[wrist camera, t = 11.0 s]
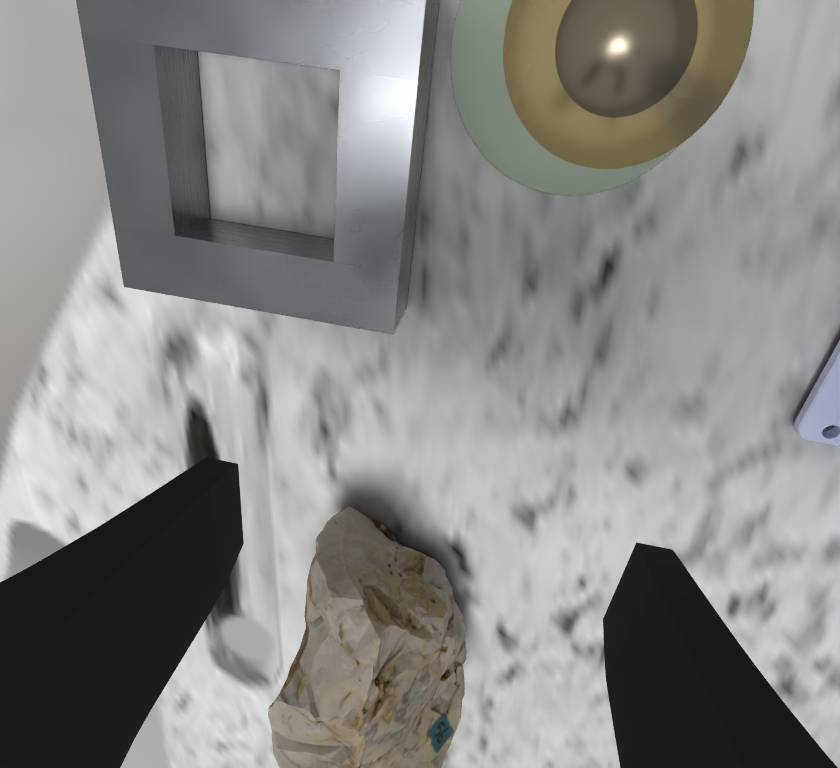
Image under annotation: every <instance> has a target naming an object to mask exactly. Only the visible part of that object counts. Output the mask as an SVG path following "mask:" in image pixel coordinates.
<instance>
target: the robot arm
mask: <svg viewBox="0 0 840 768" xmlns="http://www.w3.org/2000/svg"><path fill="white" fill-rule="evenodd" d="M830 425H834V427H833V428H832V429H831V430H829V431H827V432H822V431H823V430H824V429H825V428H826V427H828V426H830ZM794 428H795V431H796V432H797V433H798V435H799V436H800V437H801V438H802V439H805V440H808V441H813V442H819V443H824V444H830V445H835V446H840V340H839V342H838V344H837V346H836V348H835V349H834V351H833V353H832V355H831V357H830V358H829V360H828V362H827V364H826V366H825V367H824V369H823V371H822V373H821V375H820V376H819V378H818V380H817V382H816V384H815V386H814V387H813V389H812V391H811V393H810V395H809V396H808V398H807V400H806V402H805V404H804V405H803V407H802V409H801V411H800V413H799V414H798V416H797V418H796V420H795V423H794ZM242 546H243V530H242V516H241V501H240V486H239V472H238V464H236V463H231V462H226V461H221V460H216V459H211V458H205V459H204V460H202V461H200V462H199V463H197V464H196V465H194V466H192V467H191V468H189V469H188V470H186V471H185V472H183V473H182V474H180V475H179V476H177V477H176V478H174V479H173V480H171V481H169V482H168V483H166V484H165V485H163V486H162V487H160V488H159V489H157V490H156V491H154V492H153V493H151V494H150V495H148V496H146V497H145V498H143V499H142V500H140V501H139V502H137V503H136V504H134V505H132V506H131V507H129V508H128V509H126V510H125V511H123V512H121V513H120V514H118V515H117V516H115V517H113V518H112V519H110V520H109V521H107V522H106V523H104V524H102V525H101V526H99V527H98V528H96V529H94V530H93V531H91V532H89V533H87V534H86V535H84V536H82V537H80V538H79V539H77V540H75V541H74V542H72V543H70V544H68V545H67V546H65V547H63V548H62V549H60V550H58V551H56V552H55V553H53V554H51V555H50V556H48V557H46V558H44V559H43V560H41V561H39V562H37V563H36V564H34V565H32V566H30V567H29V568H27V569H25V570H23V571H21V572H20V573H17V574H16V575H14V576H12V577H10V578H8V579H6V580H4V581H2V582H0V768H120V767H121V765H122V763H123V761H124V759H125V757H126V754H127V753H128V751H129V749H130V747H131V745H132V743H133V741H134V739H135V737H136V735H137V733H138V732H139V730H140V728H141V726H142V724H143V723H144V721H145V719H146V717H147V716H148V714H149V712H150V710H151V709H152V707H153V705H154V704H155V702H156V701H157V699H158V697H159V696H160V694H161V692H162V691H163V689H164V687H165V686H166V684H167V682H168V681H169V679H170V678H171V676H172V674H173V673H174V671H175V669H176V668H177V666H178V664H179V663H180V661H181V659H182V658H183V656H184V655H185V653H186V651H187V650H188V648H189V646H190V645H191V643H192V641H193V640H194V638H195V636H196V635H197V633H198V631H199V630H200V628H201V626H202V625H203V623H204V621H205V620H206V618H207V616H208V615H209V613H210V611H211V610H212V608H213V606H214V605H215V603H216V601H217V600H218V598H219V596H220V594H221V592H222V590H223V588H224V586H225V584H226V582H227V580H228V577H229V575H230V573H231V571H232V569H233V566H234V564H235V562H236V560H237V557H238V555H239V553H240V550H241V548H242ZM603 627H604V653H605V670H606V682H607V688H608V695H609V701H610V707H611V713H612V719H613V726H614V732H615V738H616V744H617V749H618V755H619V761H620V767H621V768H837V767H836V765H835V764H834V763H833V762H832V761H831V760H830V758H829V757H828V756H827V755H826V754H825V753H824V751H823V750H822V749H821V748H820V747H819V745H818V744H817V743H816V742H815V740H814V739H813V738H812V737H811V736H810V734H809V733H808V732H807V731H806V729H805V728H804V727H803V726H802V724H801V723H800V722H799V721H798V720H797V718H796V717H795V716H794V715H793V713H792V712H791V711H790V710H789V708H788V707H787V706H786V705H785V704H784V702H783V701H782V700H781V698H780V697H779V696H778V695H777V693H776V692H775V691H774V689H773V688H772V687H771V686H770V684H769V683H768V682H767V680H766V679H765V678H764V676H763V675H762V674H761V672H760V671H759V670H758V668H757V667H756V666H755V665H754V663H753V662H752V660H751V659H750V658H749V656H748V655H747V654H746V652H745V651H744V650H743V648H742V647H741V646H740V644H739V643H738V642H737V640H736V639H735V637H734V636H733V635H732V633H731V632H730V630H729V629H728V628H727V626H726V625H725V624H724V622H723V621H722V619H721V618H720V616H719V615H718V614H717V612H716V611H715V609H714V608H713V607H712V605H711V604H710V602H709V601H708V599H707V598H706V597H705V595H704V594H703V592H702V591H701V589H700V588H699V587H698V585H697V584H696V582H695V581H694V579H693V578H692V577H691V575H690V574H689V572H688V571H687V569H686V568H685V566H684V565H683V564H682V562H681V561H680V559H679V558H678V557H677V555H676V554H675V552H674V551H673V550H671V549H666V548H661V547H656V546H651V545H646V544H641V543H636V545H635V547H634V549H633V552H632V554H631V556H630V559H629V561H628V563H627V566H626V568H625V570H624V572H623V575H622V577H621V579H620V582H619V584H618V586H617V589H616V591H615V593H614V595H613V598H612V600H611V602H610V605H609V607H608V609H607V612H606V614H605V616H604V618H603Z"/></svg>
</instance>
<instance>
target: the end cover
mask: <svg viewBox="0 0 840 768" xmlns="http://www.w3.org/2000/svg"><path fill="white" fill-rule="evenodd" d="M753 10H754V0H512V3H511V6H510V9H509V13H508V17H507V22H506V27H505V33H504V43H503V66H504V74H505V81H506V85H507V89H508V93H509V97H510V99H511V102H512V105H513V107H514V110H515V112H516V114H517V115H518V117H519V119H520V121H521V123H522V124H523V126H524V127H525V128H526V130H527V131H528V132H529V134H530V135H531V136H532V137H533V138H534V139H535V140H536V141H537V142H538V143H539V144H540V145H541V146H542V147H544V148H545V149H546V150H548V151H549V152H550V153H552V154H553V155H555V156H557V157H559V158H561V159H562V160H564V161H567V162H570V163H572V164H575V165H578V166H583V167H587V168H594V169H619V168H625V167H630V166H635V165H638V164H641V163H644V162H648V161H650V160H652V159H655V158H657V157H659V156H661V155H663V154H665V153H667V152H669V151H670V150H672V149H674V148H675V147H677V146H679V145H680V144H681V143H683V142H684V141H685V140H686V139H688V138H689V137H690V136H692V135H693V134H694V133H695V132H696V131H697V130H698V129H699V128H700V127H701V126H702V125H703V124H705V123H706V121H707V120H708V119H709V118H710V117H711V115H712V114H713V113H714V112H715V111H716V110H717V108H718V107H719V105H720V104H721V103H722V101H723V100H724V98H725V97H726V95H727V94H728V92H729V90H730V88H731V87H732V85H733V83H734V81H735V79H736V78H737V75H738V73H739V70H740V68H741V66H742V63H743V61H744V58H745V55H746V51H747V48H748V44H749V41H750V35H751V30H752V24H753Z"/></svg>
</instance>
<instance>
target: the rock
mask: <svg viewBox="0 0 840 768" xmlns="http://www.w3.org/2000/svg"><path fill="white" fill-rule="evenodd" d="M305 621H306V630H305V633H304V636H303V639H302V643H301V646H300V649H299V651H298V653H297V655H296V657H295V659H294V661H293V663H292V665H291V667H290V671H289V674H288V677H287V680H286V682H285V684H284V686H283V688H282V690H281V692H280V694H279V695H278V697H277V698H276V700H275V701H274V702H273V703H272V705H271V706H270V707H269V710H268V716H269V720H270V724H271V728H272V743H273V753H274V756H275V758H276V761H277V763H278V765H279V767H280V768H441V767H442V764H443V761H444V758H445V755H446V752H447V750H448V748H449V746H450V744H451V741H452V738H453V736H454V734H455V731H456V729H457V726H458V723H459V721H460V718H461V708H462V699H463V697H464V671H463V665H462V664H463V663H464V662H465V660H466V647H465V640H464V638H465V631H466V628H467V625H466V624H465V622H464V616H463V614H462V613H461V612H460V610H459V608H458V605H457V603H456V602H455V601H454V599H453V589H452V587H451V584H450V582H449V580H448V579H447V577H446V571H445V570H444V569H443V567H442V566H441V565H440V564H439V563H438V562H437V561H436V560H435V559H433V558H430V557H428V556H426V555H425V554H424V553H421V552H418V551H415V550H413V549H411V548H408V547H404V546H402V545H401V544H400V543H398V542H397V540H396V537H395V536H394V535H393V534H392V533H391V531H390V530H389V529H388V528H387V527H386V526H385V525H384V524H382V523H379V522H377V521H374V520H371V519H370V518H368V517H366V516H365V515H362V514H361V513H360V512H359V511H358V510H356V509H354V508H351V507H349V506H348V508H346V509H344V510H343V511H341V512H339V513H338V514H336V515H334V516H333V517H332V518H331V519H330V520H329V521H328V522H327V524H326V525H325V527H324V529H323V531H322V532H321V533H320V534H319V535H318V537H317V539H316V554H315V556H314V558H313V561H312V564H311V567H310V571H309V575H308V581H307V594H306V606H305Z"/></svg>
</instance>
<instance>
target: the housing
mask: <svg viewBox="0 0 840 768" xmlns="http://www.w3.org/2000/svg"><path fill="white" fill-rule="evenodd" d="M76 2H77V8H78V14H79V20H80V26H81V32H82V38H83V44H84V50H85V56H86V62H87V68H88V74H89V80H90V86H91V92H92V98H93V104H94V109H95V115H96V122H97V128H98V133H99V140H100V146H101V152H102V158H103V163H104V169H105V176H106V182H107V188H108V194H109V200H110V206H111V212H112V218H113V224H114V230H115V236H116V242H117V248H118V254H119V260H120V266H121V272H122V278H123V284H124V287H128V288H134V289H139V290H145V291H150V292H156V293H162V294H167V295H173V296H179V297H184V298H190V299H196V300H201V301H207V302H213V303H218V304H224V305H230V306H235V307H241V308H247V309H252V310H258V311H264V312H269V313H275V314H281V315H286V316H292V317H297V318H303V319H309V320H314V321H320V322H326V323H331V324H337V325H343V326H348V327H354V328H360V329H365V330H371V331H377V332H382V333H388V334H394V332H395V330H396V328H397V326H398V324H399V322H400V320H401V318H402V316H403V314H404V312H405V310H406V308H407V298H408V289H409V280H410V271H411V261H412V252H413V243H414V234H415V224H416V215H417V206H418V196H419V187H420V178H421V169H422V159H423V150H424V141H425V132H426V122H427V113H428V104H429V94H430V85H431V76H432V67H433V57H434V48H435V39H436V30H437V20H438V11H439V2H440V0H76ZM197 51H202V52H210V53H217V54H225V55H232V56H239V57H247V58H254V59H262V60H269V61H276V62H284V63H291V64H298V65H306V66H313V67H321V68H328V69H335V70H340V85H339V114H338V143H337V172H336V202H335V231H334V239H330V238H324V237H318V236H312V235H306V234H299V233H293V232H287V231H281V230H275V229H269V228H263V227H256V226H250V225H244V224H238V223H232V222H226V221H220V220H214V219H210V209H209V197H208V184H207V171H206V158H205V146H204V133H203V120H202V108H201V95H200V82H199V70H198V57H197Z"/></svg>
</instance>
